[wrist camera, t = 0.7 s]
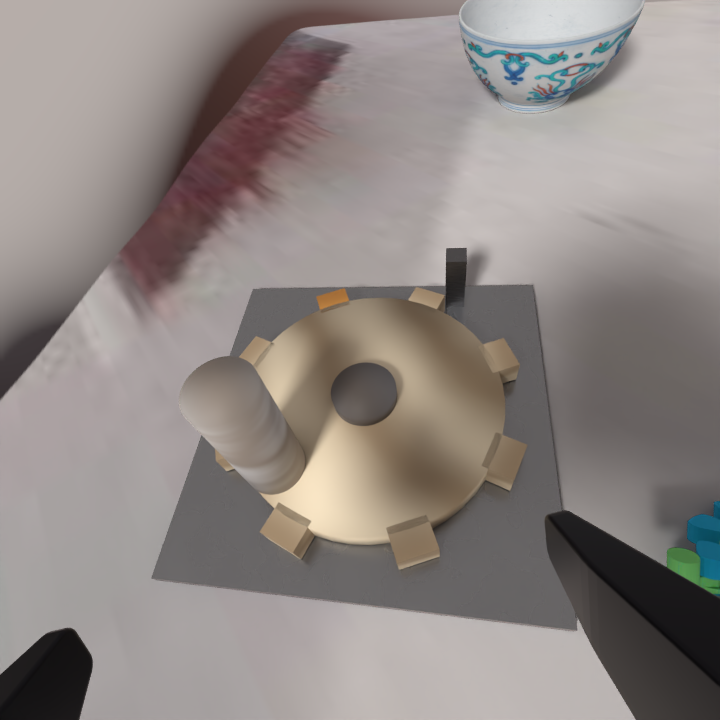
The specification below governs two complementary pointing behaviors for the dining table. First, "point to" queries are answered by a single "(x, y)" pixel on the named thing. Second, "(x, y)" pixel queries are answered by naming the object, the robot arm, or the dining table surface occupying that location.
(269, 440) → the turntable
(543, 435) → the bearing plate
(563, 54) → the chinaware
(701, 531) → the gear
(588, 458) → the dining table surface
